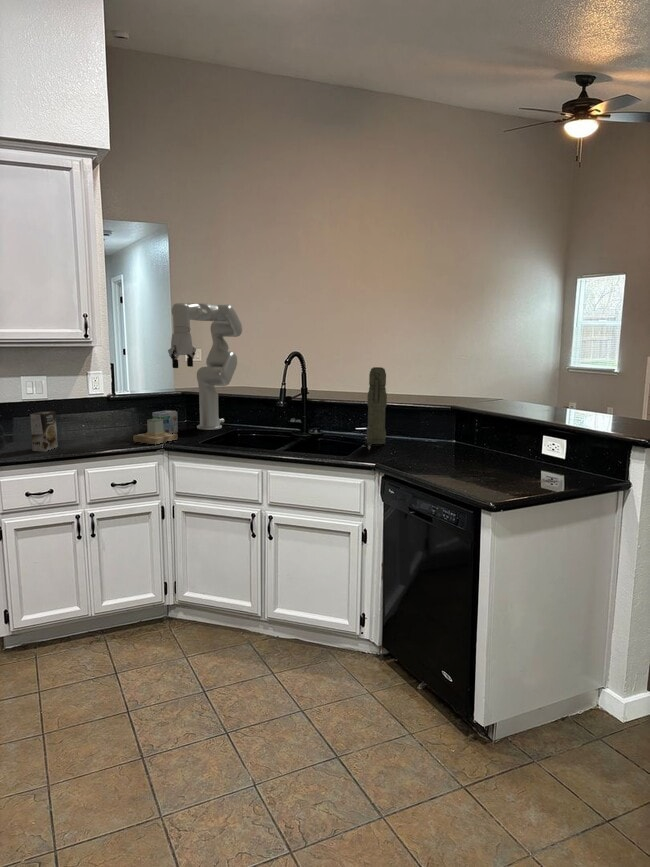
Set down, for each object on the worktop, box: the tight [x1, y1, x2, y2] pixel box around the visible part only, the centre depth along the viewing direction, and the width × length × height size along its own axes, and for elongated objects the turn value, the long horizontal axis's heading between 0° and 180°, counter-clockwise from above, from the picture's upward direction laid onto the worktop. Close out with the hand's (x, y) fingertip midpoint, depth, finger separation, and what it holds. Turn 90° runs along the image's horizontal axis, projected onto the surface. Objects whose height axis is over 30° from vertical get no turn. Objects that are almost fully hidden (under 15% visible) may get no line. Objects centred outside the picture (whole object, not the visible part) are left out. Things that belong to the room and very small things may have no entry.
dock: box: [132, 432, 179, 446], centre depth 297 cm, size 14×14×3 cm
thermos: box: [365, 366, 388, 445], centre depth 294 cm, size 9×12×35 cm
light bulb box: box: [151, 409, 179, 434], centre depth 316 cm, size 11×7×11 cm, turn 143°
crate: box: [146, 418, 165, 437], centre depth 296 cm, size 6×6×7 cm
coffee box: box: [30, 410, 58, 453], centre depth 276 cm, size 9×6×16 cm
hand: (182, 367), depth 303 cm, fingers open, 9 cm apart
